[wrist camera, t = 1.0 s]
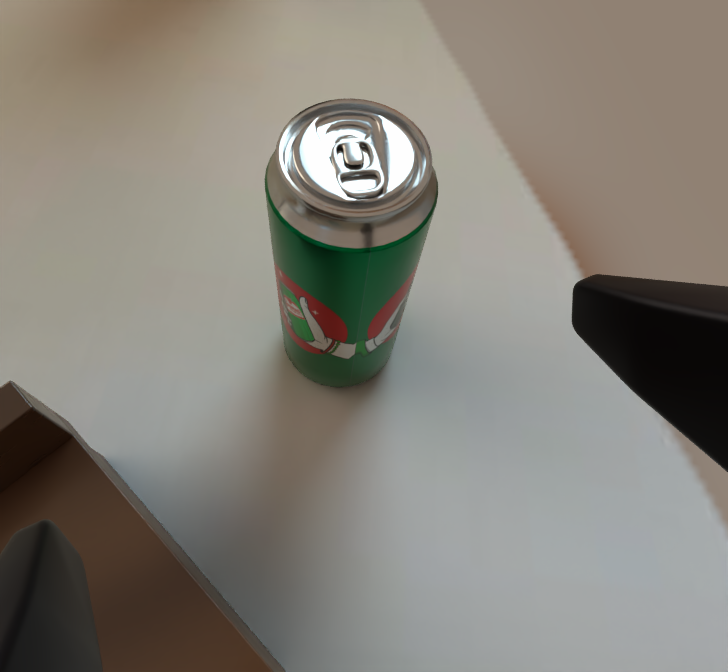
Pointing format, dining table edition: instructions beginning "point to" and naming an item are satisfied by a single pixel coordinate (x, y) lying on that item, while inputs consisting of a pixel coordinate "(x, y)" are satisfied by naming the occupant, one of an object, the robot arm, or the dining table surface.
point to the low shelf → (117, 551)
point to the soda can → (347, 233)
